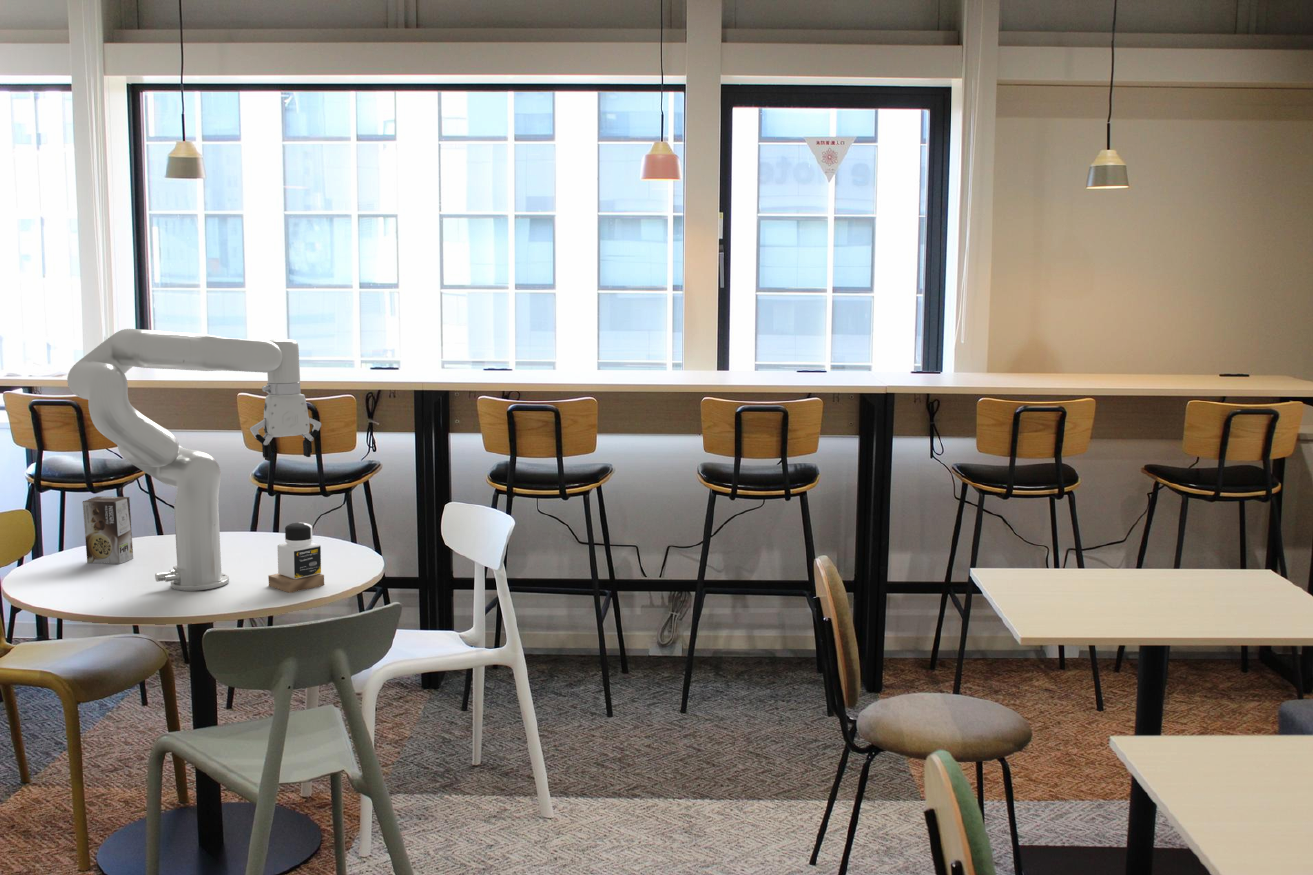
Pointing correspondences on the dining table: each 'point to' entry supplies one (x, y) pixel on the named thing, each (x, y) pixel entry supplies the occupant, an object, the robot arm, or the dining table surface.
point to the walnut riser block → (295, 582)
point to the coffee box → (108, 529)
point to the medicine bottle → (299, 552)
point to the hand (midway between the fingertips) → (287, 458)
